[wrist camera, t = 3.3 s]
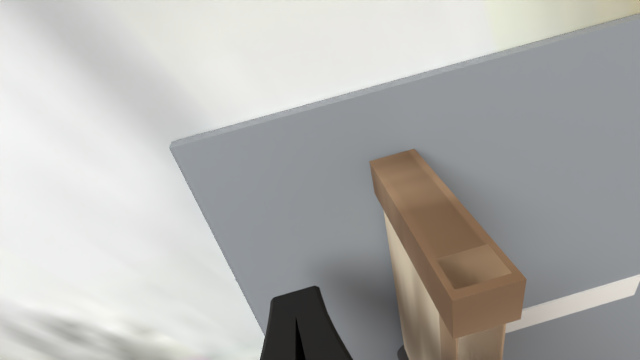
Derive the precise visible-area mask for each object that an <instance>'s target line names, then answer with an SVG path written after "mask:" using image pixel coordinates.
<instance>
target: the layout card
mask: <svg viewBox="0 0 640 360" xmlns="http://www.w3.org/2000/svg"><path fill="white" fill-rule="evenodd" d="M411 149H415V150H416V151H417V152H418V153H419V155H420V156H421V157H422V158H423V159H424V160H425V162H426V163H427V164H428V165H429V166H430V167H431V168H432V170H433V171H434V172H435V173H436V174H437V175H438V177H439V178H440V179H441V180H442V181H443V182H444V184H445V185H446V186H447V187H448V188H449V189H450V191H451V192H452V193H453V194H454V195H455V196H456V198H457V199H458V200H459V201H460V202H461V203H462V204H463V206H464V207H465V208H466V209H467V210H468V211H469V213H470V214H471V215H472V216H473V217H474V218H475V220H476V221H477V222H478V223H479V224H480V225H481V227H482V228H483V229H484V230H485V231H486V232H487V234H488V235H489V236H490V237H491V238H492V239H493V240H494V242H495V243H496V244H497V245H498V246H499V247H500V249H501V250H502V251H503V252H504V253H505V254H506V256H507V257H508V258H509V259H510V260H511V261H512V263H513V264H514V265H515V266H516V267H517V268H518V270H519V271H520V272H521V273H522V274H523V275H524V276H525V278H526V279H527V280H526V287H525V293H524V300H523V307H522V314H521V319H520V320H517V321H513V322H510V323H507V324H506V330H505V339H504V348H503V357H502V360H640V13H639V14H635V15H632V16H628V17H624V18H621V19H617V20H613V21H610V22H606V23H603V24H599V25H595V26H592V27H588V28H584V29H581V30H577V31H573V32H570V33H566V34H563V35H559V36H555V37H552V38H548V39H544V40H541V41H537V42H533V43H530V44H526V45H522V46H519V47H515V48H512V49H508V50H504V51H501V52H497V53H493V54H490V55H486V56H482V57H479V58H475V59H472V60H468V61H464V62H461V63H457V64H453V65H450V66H446V67H442V68H439V69H435V70H432V71H428V72H424V73H421V74H417V75H413V76H410V77H406V78H402V79H399V80H395V81H391V82H388V83H384V84H381V85H377V86H373V87H370V88H366V89H362V90H359V91H355V92H351V93H348V94H344V95H341V96H337V97H333V98H330V99H326V100H322V101H319V102H315V103H311V104H308V105H304V106H300V107H297V108H293V109H290V110H286V111H282V112H279V113H275V114H271V115H268V116H264V117H260V118H257V119H253V120H250V121H246V122H242V123H239V124H235V125H231V126H228V127H224V128H220V129H217V130H213V131H210V132H206V133H202V134H199V135H195V136H191V137H188V138H184V139H180V140H177V141H173V142H172V143H171V145H170V150H171V152H172V154H173V156H174V158H175V160H176V162H177V164H178V166H179V168H180V170H181V172H182V174H183V176H184V178H185V180H186V182H187V184H188V186H189V188H190V190H191V192H192V194H193V196H194V198H195V200H196V202H197V203H198V205H199V207H200V209H201V211H202V213H203V215H204V217H205V219H206V221H207V223H208V225H209V227H210V229H211V231H212V233H213V235H214V237H215V239H216V241H217V243H218V245H219V247H220V249H221V251H222V253H223V255H224V257H225V259H226V261H227V263H228V265H229V266H230V268H231V270H232V272H233V274H234V276H235V278H236V280H237V282H238V284H239V286H240V288H241V290H242V292H243V294H244V296H245V298H246V300H247V302H248V304H249V306H250V308H251V310H252V312H253V314H254V316H255V318H256V320H257V322H258V324H259V326H260V327H261V329H262V331H263V333H264V335H266V329H267V324H268V318H269V311H270V302H271V300H272V299H273V297H277V296H280V295H283V294H287V293H290V292H294V291H297V290H301V289H304V288H307V287H311V286H314V285H315V286H318V287H319V288H320V291H321V294H322V297H323V300H324V303H325V306H326V309H327V312H328V314H329V316H330V318H331V320H332V323H333V325H334V327H335V329H336V330H337V332H338V334H339V336H340V338H341V340H342V341H343V343H344V345H345V347H346V348H347V350H348V352H349V353H350V355H351V357H352V358H353V360H399V359H398V356H397V352H398V350H399V349H400V348H401V347H402V346H403V345H404V342H403V335H402V329H401V322H400V316H399V309H398V302H397V296H396V289H395V283H394V276H393V270H392V263H391V256H390V250H389V243H388V237H387V230H386V224H385V217H384V210H383V208H382V206H381V204H380V202H379V201H378V199H377V197H376V195H375V193H374V187H373V181H372V175H371V169H370V163H369V161H372V160H375V159H379V158H383V157H386V156H390V155H393V154H397V153H400V152H404V151H408V150H411Z"/></svg>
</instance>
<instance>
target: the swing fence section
mask: <svg viewBox="0 0 640 360" xmlns="http://www.w3.org/2000/svg"><path fill="white" fill-rule="evenodd" d="M369 163H370V169H371V175H372V181H373V187H374V193H375V195H376V197H377V199H378V201H379V202H380V204H381V206H382V208H383V210H384V217H385V224H386V230H387V237H388V243H389V250H390V256H391V263H392V270H393V276H394V283H395V289H396V296H397V302H398V309H399V316H400V322H401V329H402V335H403V342H404V348H405V351H406V353H407V356H408V358H409V360H502V357H503V348H504V339H505V330H506V324H507V323H510V322H513V321H517V320H520V319H521V314H522V307H523V300H524V293H525V287H526V280H527V279H526V278H525V276H524V275H523V274H522V273H521V272H520V271H519V270H518V268H517V267H516V266H515V265H514V264H513V263H512V261H511V260H510V259H509V258H508V257H507V256H506V254H505V253H504V252H503V251H502V250H501V249H500V247H499V246H498V245H497V244H496V243H495V242H494V240H493V239H492V238H491V237H490V236H489V235H488V234H487V232H486V231H485V230H484V229H483V228H482V227H481V225H480V224H479V223H478V222H477V221H476V220H475V218H474V217H473V216H472V215H471V214H470V213H469V211H468V210H467V209H466V208H465V207H464V206H463V204H462V203H461V202H460V201H459V200H458V199H457V198H456V196H455V195H454V194H453V193H452V192H451V191H450V189H449V188H448V187H447V186H446V185H445V184H444V182H443V181H442V180H441V179H440V178H439V177H438V175H437V174H436V173H435V172H434V171H433V170H432V168H431V167H430V166H429V165H428V164H427V163H426V162H425V160H424V159H423V158H422V157H421V156H420V155H419V153H418V152H417V151H416V150H415V149H411V150H408V151H404V152H400V153H397V154H393V155H390V156H386V157H383V158H379V159H375V160H372V161H369Z"/></svg>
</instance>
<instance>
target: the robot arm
mask: <svg viewBox="0 0 640 360" xmlns="http://www.w3.org/2000/svg"><path fill="white" fill-rule="evenodd" d="M260 360H353V358H352V357H351V355H350V353H349V352H348V350H347V348H346V347H345V345H344V343H343V341H342V340H341V338H340V336H339V334H338V332H337V330H336V329H335V327H334V325H333V323H332V320H331V318H330V316H329V314H328V312H327V309H326V306H325V303H324V300H323V297H322V294H321V291H320V288H319V287H318V286H315V285H314V286H311V287H307V288H304V289H301V290H297V291H294V292H290V293H287V294H283V295H280V296H277V297H273V299H272V300H271V302H270V311H269V318H268V324H267V329H266V335H265V339H264V344H263V349H262V353H261V357H260Z"/></svg>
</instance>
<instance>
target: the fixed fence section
mask: <svg viewBox="0 0 640 360" xmlns="http://www.w3.org/2000/svg"><path fill="white" fill-rule="evenodd" d="M397 356H398V359H399V360H409V358H408V356H407V353H406V351H405V348H404V345H403V346H402V347H401V348H400V349H399V350H398V352H397Z"/></svg>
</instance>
